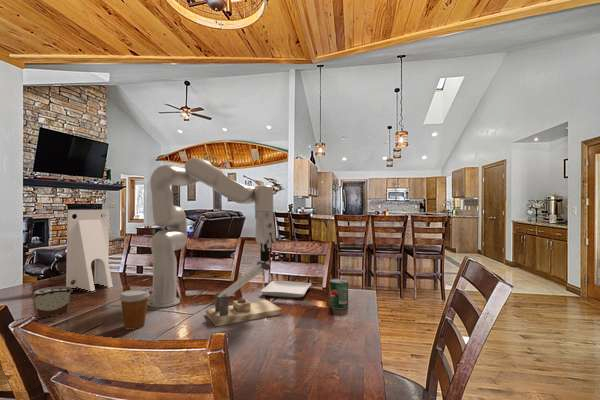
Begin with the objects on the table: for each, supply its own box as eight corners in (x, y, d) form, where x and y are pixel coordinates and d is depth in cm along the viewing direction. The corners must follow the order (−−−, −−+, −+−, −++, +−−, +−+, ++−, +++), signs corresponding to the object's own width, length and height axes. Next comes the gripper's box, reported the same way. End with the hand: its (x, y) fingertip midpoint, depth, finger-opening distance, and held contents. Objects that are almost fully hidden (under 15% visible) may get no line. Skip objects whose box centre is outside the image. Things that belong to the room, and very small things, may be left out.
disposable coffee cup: (128, 321, 119) (129, 288, 119) (154, 321, 119) (154, 288, 119) (113, 331, 110) (113, 295, 110) (140, 332, 109) (141, 296, 109)
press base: (216, 326, 115) (216, 300, 115) (206, 314, 127) (206, 291, 127) (281, 314, 128) (281, 291, 128) (266, 304, 140) (266, 283, 140)
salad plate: (304, 300, 147) (304, 293, 147) (259, 297, 152) (259, 290, 152) (311, 289, 168) (312, 282, 168) (272, 286, 172) (272, 280, 172)
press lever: (224, 304, 119) (221, 299, 119) (218, 298, 126) (214, 293, 126) (272, 266, 130) (269, 261, 129) (264, 263, 136) (261, 258, 136)
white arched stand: (80, 294, 154) (81, 210, 155) (65, 290, 162) (67, 209, 162) (121, 285, 171) (123, 209, 172) (107, 282, 179) (108, 209, 179)
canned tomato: (325, 306, 138) (326, 280, 139) (336, 302, 144) (337, 277, 144) (341, 310, 133) (341, 283, 133) (351, 306, 139) (352, 280, 139)
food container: (69, 308, 133) (69, 284, 133) (72, 312, 128) (72, 287, 129) (30, 315, 124) (30, 289, 124) (32, 320, 120) (32, 292, 120)
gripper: (280, 215, 128) (281, 262, 128) (264, 215, 141) (265, 257, 140) (263, 216, 124) (264, 264, 124) (248, 215, 137) (249, 259, 137)
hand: (265, 260), depth 132 cm, fingers closed
